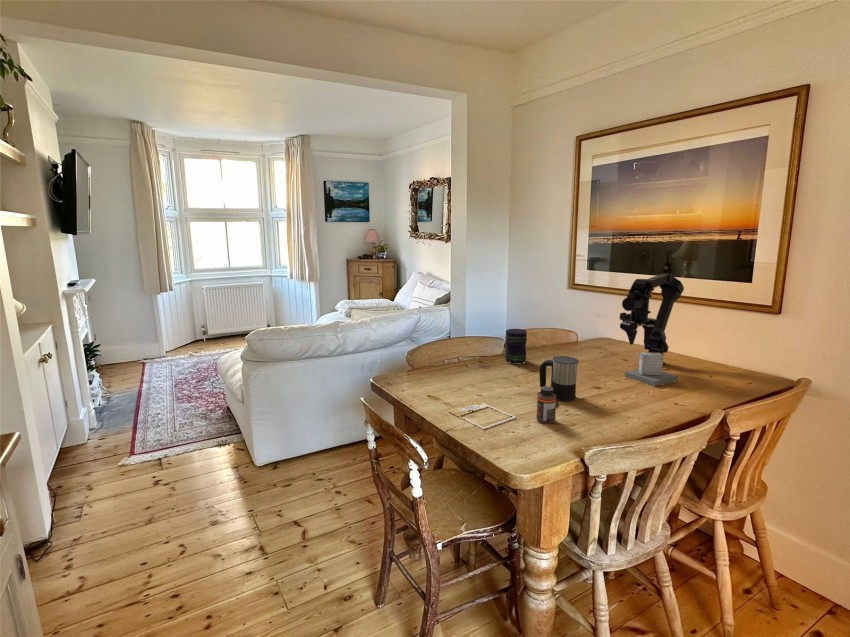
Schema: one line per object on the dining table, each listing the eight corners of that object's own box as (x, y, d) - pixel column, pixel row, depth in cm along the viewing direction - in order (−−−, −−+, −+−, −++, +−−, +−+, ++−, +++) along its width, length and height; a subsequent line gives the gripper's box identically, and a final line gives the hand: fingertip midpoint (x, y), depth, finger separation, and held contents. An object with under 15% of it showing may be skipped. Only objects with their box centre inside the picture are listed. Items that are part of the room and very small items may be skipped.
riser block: (647, 373, 197) (647, 367, 197) (677, 382, 185) (677, 375, 185) (624, 378, 191) (625, 372, 191) (654, 388, 179) (654, 381, 178)
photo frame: (479, 400, 165) (516, 416, 151) (479, 403, 165) (516, 419, 151) (448, 410, 157) (483, 428, 143) (448, 413, 157) (483, 431, 143)
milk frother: (575, 393, 173) (577, 356, 170) (579, 409, 158) (581, 368, 155) (537, 391, 176) (538, 354, 173) (537, 406, 161) (538, 366, 158)
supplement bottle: (533, 417, 152) (535, 385, 150) (551, 416, 152) (552, 384, 150) (539, 424, 146) (541, 391, 144) (557, 424, 146) (559, 390, 144)
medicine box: (658, 372, 189) (660, 352, 187) (661, 376, 184) (663, 355, 183) (638, 371, 190) (639, 352, 188) (641, 375, 186) (642, 355, 184)
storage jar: (510, 357, 223) (511, 327, 220) (529, 360, 217) (530, 330, 214) (501, 362, 215) (502, 331, 212) (520, 365, 209) (521, 334, 206)
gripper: (639, 303, 207) (637, 336, 211) (610, 307, 199) (608, 342, 202) (661, 307, 198) (658, 342, 201) (632, 311, 189) (629, 347, 192)
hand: (638, 343), depth 199 cm, fingers open, 9 cm apart
